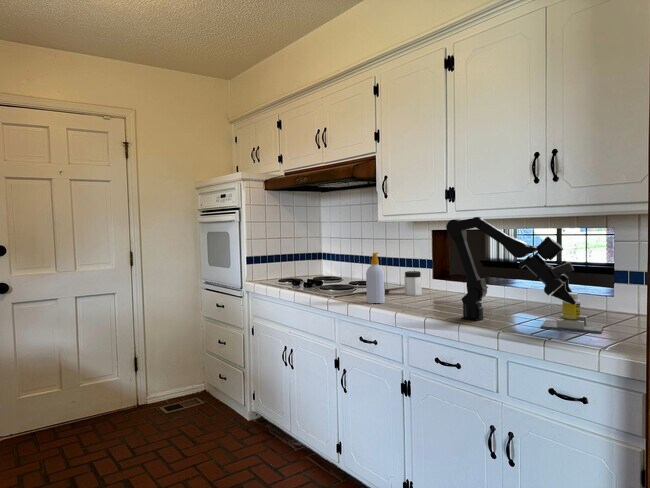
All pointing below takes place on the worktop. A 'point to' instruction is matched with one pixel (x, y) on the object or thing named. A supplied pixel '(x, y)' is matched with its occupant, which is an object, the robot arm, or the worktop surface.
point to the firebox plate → (573, 325)
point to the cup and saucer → (386, 289)
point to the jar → (413, 283)
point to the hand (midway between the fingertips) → (575, 302)
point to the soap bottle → (375, 282)
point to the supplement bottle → (571, 309)
